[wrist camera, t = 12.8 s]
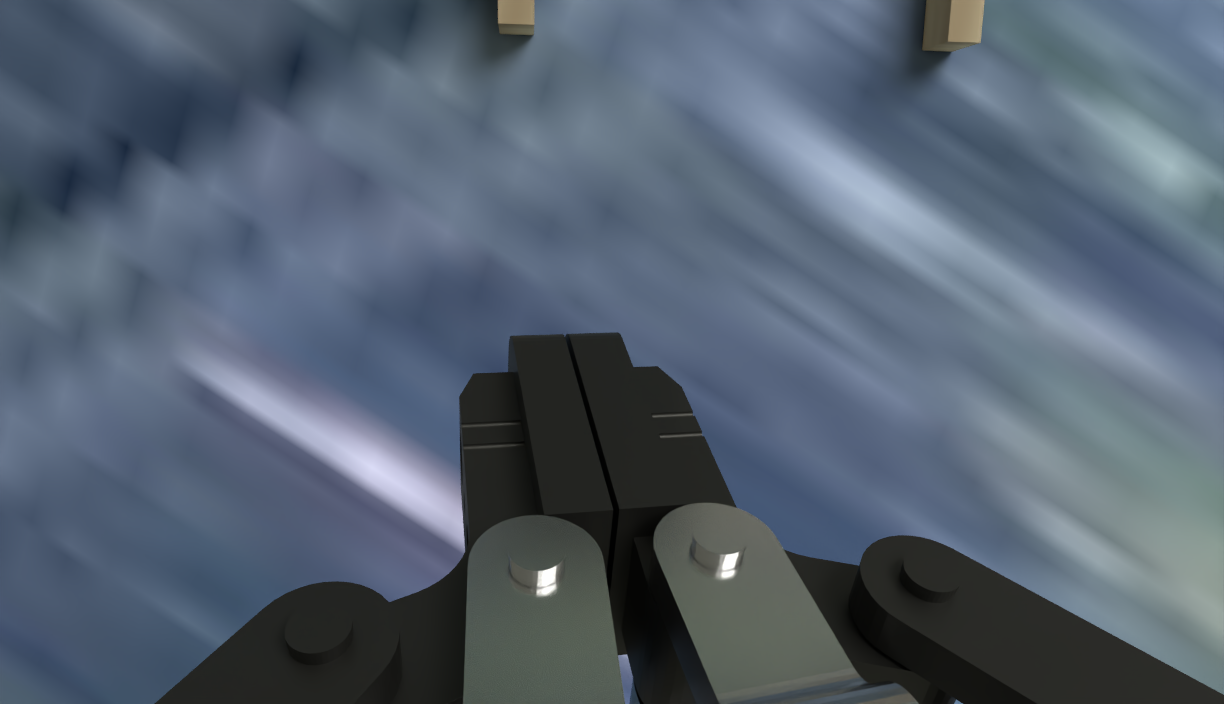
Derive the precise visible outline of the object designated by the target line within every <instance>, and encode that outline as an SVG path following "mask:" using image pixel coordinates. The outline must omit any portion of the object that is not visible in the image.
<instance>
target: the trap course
mask: <svg viewBox="0 0 1224 704" xmlns="http://www.w3.org/2000/svg"><path fill="white" fill-rule="evenodd" d="M983 11H984V0H926V11H925V23H924V35H923V47H922V50H925V51H951V52H953V51H956V50H959V49H962V48H965V47H969V46H972V45H975V44H978V43H980V42H981V31H982V21H983ZM498 26H499V32H500V34H515V35H534V0H498Z"/></svg>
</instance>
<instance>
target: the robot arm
mask: <svg viewBox="0 0 1224 704" xmlns="http://www.w3.org/2000/svg"><path fill="white" fill-rule="evenodd" d="M459 405H460V466H461V495H462V510H463V524H464V537H465V553H464V555H463V557H462V559H461V560H460V562H459V563H458V564H457V566H456V567H455V568H454V569H453V570H452V571H451V572H450V573H449V574H448V575H446V576H445V577H444V578H443V579H441V580H440V581H439V582H437V583H435V584H433V585H432V586H430V587H428V588H426V589H424V590H421V591H419V592H417V593H414V594H411V595H409V596H406V597H403V598H400V599H397V600H395V601H392V602H388V601H387V600H386V599H385V598H384V597H383V596H382V595H380V594H379V593H377V592H375V591H374V590H372V589H370V588H367V587H365V586H362V585H359V584H354V583H349V582H322V583H316V584H311V585H308V586H304V587H301V588H298V589H295V590H293V591H291V592H288V593H286V594H284V595H283V596H281V597H279V598H277V599H276V600H274V601H273V602H271V603H270V604H269V605H268V606H266V607H265V608H264V609H262V610H261V611H260V612H259V613H258V614H257V615H256V616H254V617H253V618H252V619H251V620H250V621H249V622H248V623H246V624H245V625H244V626H243V627H242V628H241V629H240V630H238V631H237V632H236V633H235V634H234V635H233V636H232V637H230V638H229V639H228V640H227V641H226V642H225V643H224V644H222V645H221V646H220V647H219V648H218V649H217V650H216V651H214V652H213V653H212V654H211V655H210V656H209V657H208V658H206V659H205V660H204V661H203V662H202V663H201V664H199V665H198V666H197V667H196V668H195V669H194V670H193V671H191V672H190V673H189V674H188V675H187V676H186V677H185V678H183V679H182V680H181V681H180V682H179V683H178V684H177V685H175V686H174V687H173V688H172V689H171V690H170V691H169V692H167V693H166V694H165V695H164V696H163V697H162V698H161V699H159V700H158V701H157V702H156V703H155V704H625V701H624V694H623V687H622V680H621V674H620V667H619V660H618V655H624V654H627V655H628V659H629V663H630V667H631V671H632V675H633V682H632V689H631V696H630V704H954V703H955V701H956V699H957V700H958V701H960V702H961V703H963V704H1224V695H1223V694H1221V693H1219V692H1217V691H1215V690H1214V689H1212V688H1210V687H1208V686H1206V685H1204V684H1202V683H1201V682H1199V681H1197V680H1195V679H1193V678H1191V677H1189V676H1188V675H1186V674H1184V673H1182V672H1180V671H1178V670H1177V669H1175V668H1173V667H1171V666H1169V665H1167V664H1165V663H1164V662H1162V661H1160V660H1158V659H1156V658H1154V657H1152V656H1151V655H1149V654H1147V653H1145V652H1143V651H1141V650H1139V649H1138V648H1136V647H1134V646H1132V645H1130V644H1128V643H1126V642H1125V641H1123V640H1121V639H1119V638H1117V637H1115V636H1113V635H1112V634H1110V633H1108V632H1106V631H1104V630H1102V629H1100V628H1099V627H1097V626H1095V625H1093V624H1091V623H1089V622H1087V621H1086V620H1084V619H1082V618H1080V617H1078V616H1076V615H1075V614H1073V613H1071V612H1069V611H1067V610H1065V609H1063V608H1062V607H1060V606H1058V605H1056V604H1054V603H1052V602H1050V601H1049V600H1047V599H1045V598H1043V597H1041V596H1039V595H1037V594H1036V593H1034V592H1032V591H1030V590H1028V589H1026V588H1024V587H1023V586H1021V585H1019V584H1017V583H1015V582H1013V581H1011V580H1010V579H1008V578H1006V577H1004V576H1002V575H1000V574H998V573H997V572H995V571H993V570H991V569H989V568H987V567H985V566H984V565H982V564H980V563H978V562H976V561H974V560H973V559H971V558H969V557H967V556H965V555H963V554H961V553H960V552H958V551H956V550H954V549H952V548H950V547H948V546H946V545H944V544H941V543H939V542H936V541H933V540H930V539H926V538H922V537H916V536H891V537H886V538H883V539H880V540H878V541H876V542H874V543H873V544H871V545H870V546H869V547H868V548H867V549H866V551H865V552H864V554H863V556H862V559H861V562H860V565H859V566H858V565H852V564H846V563H840V562H834V561H828V560H823V559H817V558H811V557H806V556H802V555H798V554H795V553H792V552H789V551H786V550H784V549H783V548H782V546H781V544H780V543H779V541H778V539H777V538H776V536H775V535H774V534H773V532H772V531H771V530H770V529H769V528H768V527H767V526H766V525H765V524H764V523H763V522H762V521H760V520H759V519H758V518H756V517H755V516H753V515H751V514H749V513H748V512H745V511H743V510H741V509H738V508H737V507H736V505H735V503H734V501H733V499H732V496H731V494H730V492H729V490H728V488H727V485H726V483H725V481H724V479H723V477H722V474H721V472H720V470H719V468H718V466H717V464H716V461H715V459H714V457H713V455H712V453H711V450H710V448H709V446H708V444H707V442H706V439H705V437H704V436H702V431H701V428H700V426H699V424H698V422H697V420H696V417H695V416H693V411H692V409H691V406H690V404H689V402H688V400H687V398H686V396H685V393H684V391H683V389H682V387H681V386H680V385H679V384H678V383H676V382H675V381H674V380H673V379H672V378H671V377H669V376H668V375H667V374H666V373H665V372H664V371H662V370H661V369H660V368H659V367H658V366H653V367H633V365H632V363H631V360H630V357H629V355H628V352H627V350H626V347H625V344H624V342H623V339H622V337H621V335H620V334H619V333H584V334H566V336H565V337H564V335H563V334H557V335H524V336H510V340H509V357H508V372H502V373H476V374H473V375H472V377H471V379H470V380H469V382H468V384H467V385H466V387H465V388H464V390H463V392H462V393H461V395H460V397H459Z"/></svg>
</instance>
